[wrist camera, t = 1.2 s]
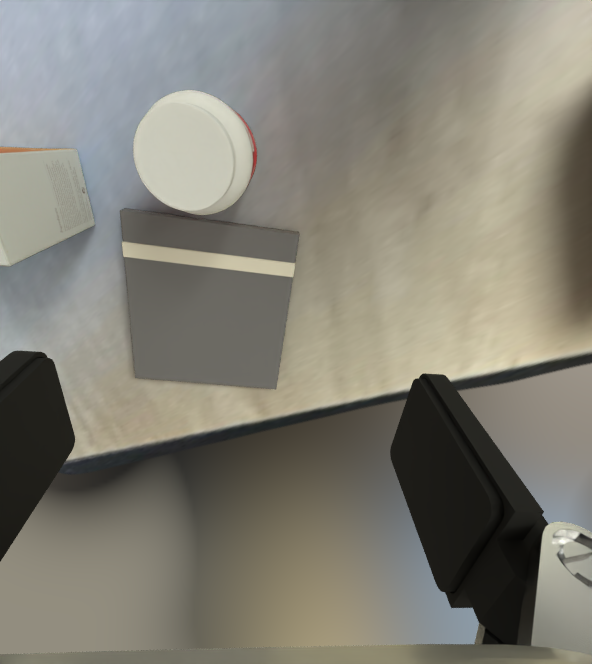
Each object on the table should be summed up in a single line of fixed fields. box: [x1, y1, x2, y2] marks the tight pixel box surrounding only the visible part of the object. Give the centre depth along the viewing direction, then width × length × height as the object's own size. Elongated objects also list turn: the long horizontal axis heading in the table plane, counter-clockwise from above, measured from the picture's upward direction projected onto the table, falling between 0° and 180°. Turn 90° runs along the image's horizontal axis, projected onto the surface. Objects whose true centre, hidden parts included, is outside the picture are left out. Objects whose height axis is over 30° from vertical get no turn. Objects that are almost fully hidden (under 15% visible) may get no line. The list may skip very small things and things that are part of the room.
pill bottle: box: [133, 90, 257, 215], centre depth 21 cm, size 6×6×11 cm
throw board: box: [120, 208, 299, 389], centre depth 32 cm, size 16×14×1 cm
